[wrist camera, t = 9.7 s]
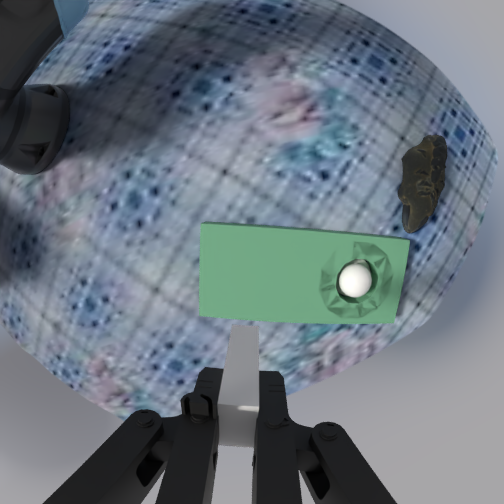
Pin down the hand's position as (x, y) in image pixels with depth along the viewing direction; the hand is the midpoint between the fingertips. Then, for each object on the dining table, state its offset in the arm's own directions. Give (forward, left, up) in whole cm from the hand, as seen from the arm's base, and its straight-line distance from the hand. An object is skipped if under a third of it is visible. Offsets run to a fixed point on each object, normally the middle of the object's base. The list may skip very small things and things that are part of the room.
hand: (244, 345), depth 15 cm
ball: (0, +12, -16) cm, 20 cm away
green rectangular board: (0, +7, -18) cm, 19 cm away
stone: (-13, +21, -19) cm, 31 cm away
